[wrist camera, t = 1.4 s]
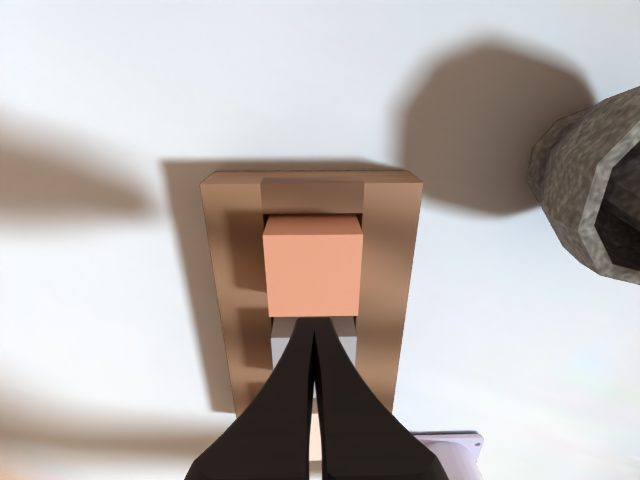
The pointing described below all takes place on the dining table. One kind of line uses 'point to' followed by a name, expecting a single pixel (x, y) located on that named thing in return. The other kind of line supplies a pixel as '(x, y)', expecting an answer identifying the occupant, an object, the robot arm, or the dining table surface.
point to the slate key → (286, 324)
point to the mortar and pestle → (594, 184)
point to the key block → (250, 277)
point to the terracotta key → (313, 264)
